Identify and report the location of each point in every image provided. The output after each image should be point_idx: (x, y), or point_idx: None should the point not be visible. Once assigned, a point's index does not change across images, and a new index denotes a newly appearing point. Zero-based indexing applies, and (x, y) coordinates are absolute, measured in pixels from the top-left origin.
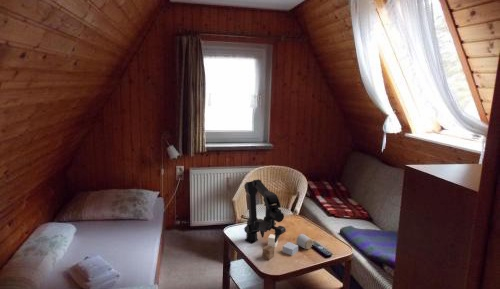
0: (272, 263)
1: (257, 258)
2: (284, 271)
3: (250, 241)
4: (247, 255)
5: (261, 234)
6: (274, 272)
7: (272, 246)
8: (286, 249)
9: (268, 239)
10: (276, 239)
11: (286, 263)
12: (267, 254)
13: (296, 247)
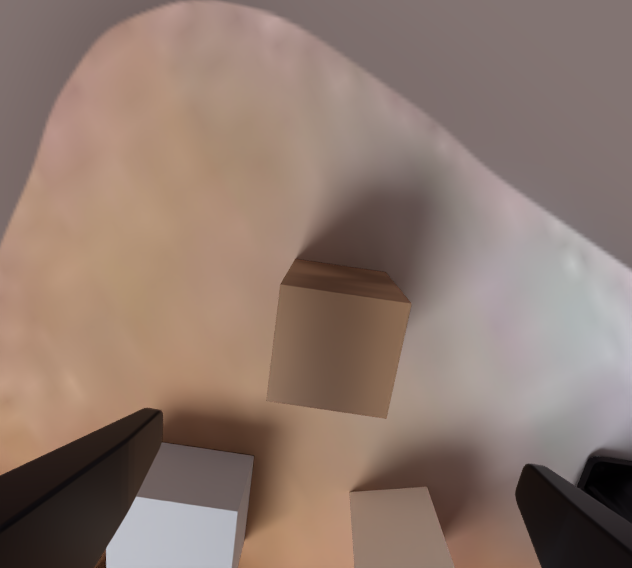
0: (237, 219)
1: (423, 222)
2: (59, 144)
3: (626, 474)
4: (554, 218)
5: (628, 534)
6: (131, 60)
7: (377, 494)
8: (195, 484)
9: (445, 559)
10: (38, 471)
11: (122, 295)
12: (320, 274)
13: (110, 553)
